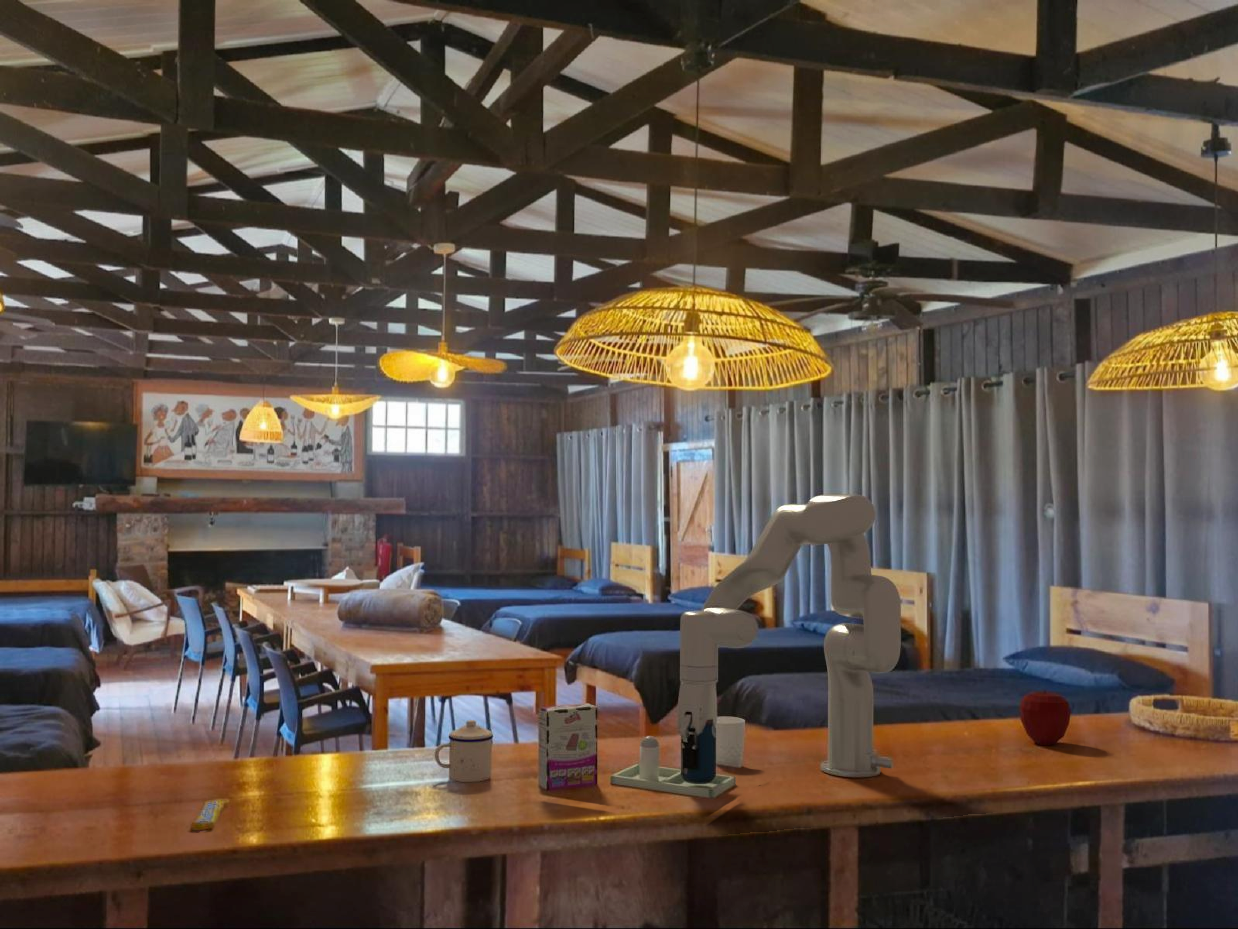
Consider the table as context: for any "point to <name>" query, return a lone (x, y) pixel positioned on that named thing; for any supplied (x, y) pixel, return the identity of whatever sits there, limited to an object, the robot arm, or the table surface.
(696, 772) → the soda can
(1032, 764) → the table surface
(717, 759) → the white cup
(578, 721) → the candy bar box
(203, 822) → the candy bar
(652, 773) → the shaker
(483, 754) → the teacup with lid
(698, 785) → the caddy
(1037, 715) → the apple
